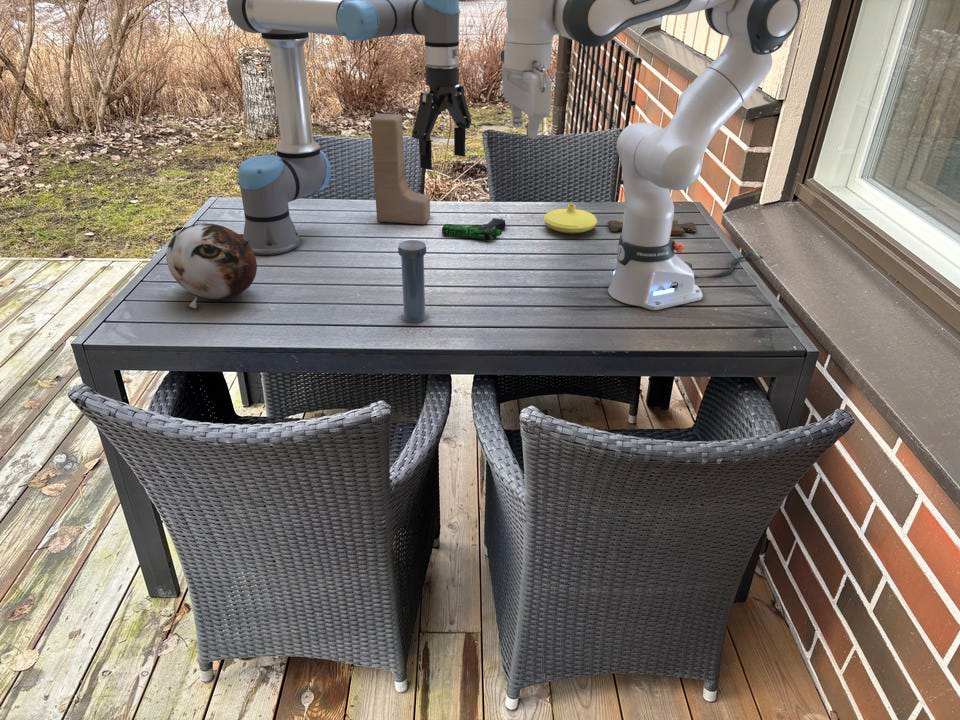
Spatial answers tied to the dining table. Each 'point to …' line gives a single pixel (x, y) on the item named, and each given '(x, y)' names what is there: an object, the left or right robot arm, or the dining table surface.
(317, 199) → the dining table surface
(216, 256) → the cat face balloon
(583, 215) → the yellow knobbed disc
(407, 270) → the grey cylinder
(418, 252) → the lid
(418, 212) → the decorative block
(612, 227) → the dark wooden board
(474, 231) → the handgun
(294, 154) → the left robot arm
